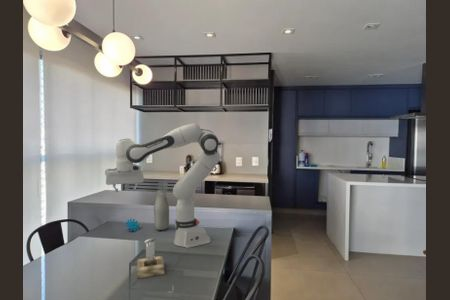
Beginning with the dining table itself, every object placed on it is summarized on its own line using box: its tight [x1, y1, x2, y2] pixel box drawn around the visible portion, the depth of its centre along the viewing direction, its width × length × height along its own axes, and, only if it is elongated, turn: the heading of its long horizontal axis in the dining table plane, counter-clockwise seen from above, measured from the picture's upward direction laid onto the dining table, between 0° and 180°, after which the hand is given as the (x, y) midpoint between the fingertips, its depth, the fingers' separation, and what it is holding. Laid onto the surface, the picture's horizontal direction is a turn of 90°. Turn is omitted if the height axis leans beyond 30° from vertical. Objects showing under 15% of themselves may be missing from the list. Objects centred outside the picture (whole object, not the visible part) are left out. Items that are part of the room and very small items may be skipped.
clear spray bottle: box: [143, 236, 157, 266], centre depth 125 cm, size 7×4×15 cm, turn 153°
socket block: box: [136, 255, 165, 279], centre depth 125 cm, size 12×12×4 cm
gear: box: [125, 218, 141, 232], centre depth 182 cm, size 11×6×10 cm
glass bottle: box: [153, 189, 170, 231], centre depth 182 cm, size 10×10×28 cm
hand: (125, 191), depth 148 cm, fingers open, 8 cm apart
